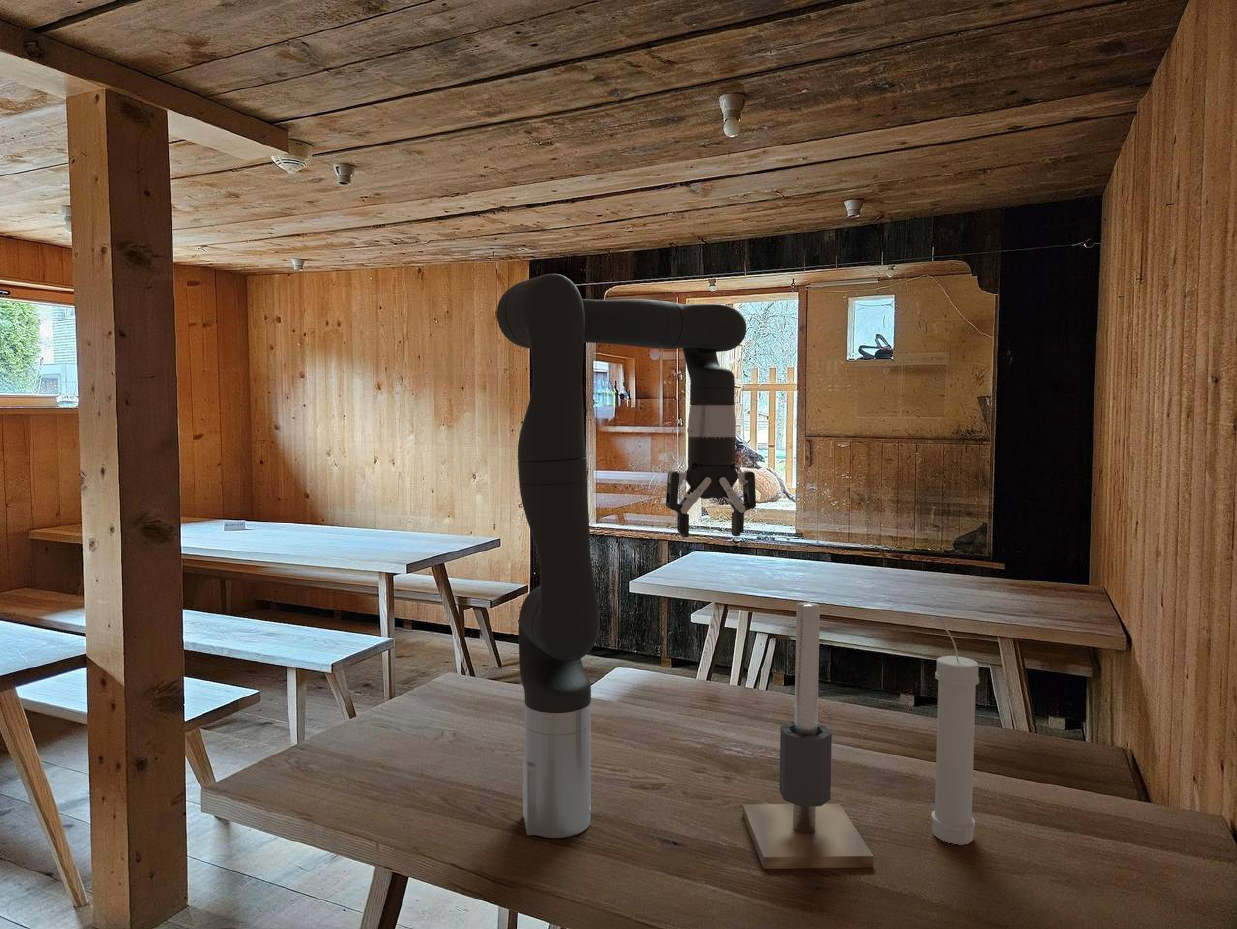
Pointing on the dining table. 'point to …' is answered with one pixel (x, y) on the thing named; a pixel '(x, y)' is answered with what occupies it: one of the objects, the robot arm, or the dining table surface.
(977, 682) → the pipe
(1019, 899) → the dining table surface
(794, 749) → the collar
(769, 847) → the post
